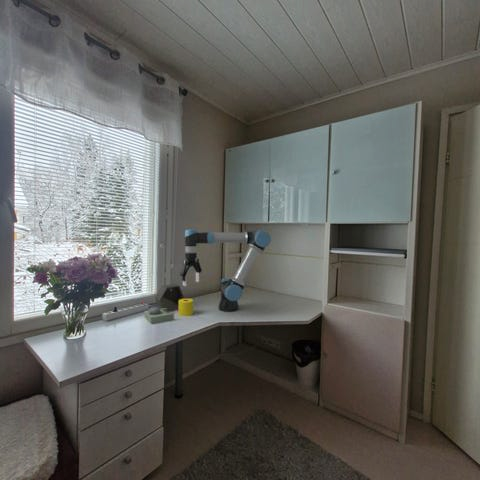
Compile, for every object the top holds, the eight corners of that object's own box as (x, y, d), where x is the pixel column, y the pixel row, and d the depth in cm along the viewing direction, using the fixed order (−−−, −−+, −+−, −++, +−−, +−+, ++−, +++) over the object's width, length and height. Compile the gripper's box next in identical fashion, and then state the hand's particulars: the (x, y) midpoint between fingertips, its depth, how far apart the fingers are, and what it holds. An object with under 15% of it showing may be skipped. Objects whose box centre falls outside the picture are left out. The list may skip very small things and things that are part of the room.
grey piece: (166, 313, 178) (166, 303, 178) (173, 319, 166) (173, 309, 165) (144, 317, 170) (144, 306, 169) (151, 324, 157) (151, 312, 157)
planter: (155, 307, 176) (170, 280, 183) (150, 304, 181) (165, 279, 188) (173, 316, 186) (187, 290, 193) (168, 313, 191) (182, 288, 198)
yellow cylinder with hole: (195, 312, 182) (195, 299, 182) (189, 316, 172) (189, 303, 172) (182, 310, 184) (182, 298, 184) (175, 315, 175) (175, 301, 174)
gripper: (197, 250, 184) (198, 279, 185) (173, 253, 162) (174, 286, 163) (206, 251, 181) (206, 280, 181) (182, 254, 159) (183, 288, 159)
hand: (191, 283), depth 172 cm, fingers open, 13 cm apart
